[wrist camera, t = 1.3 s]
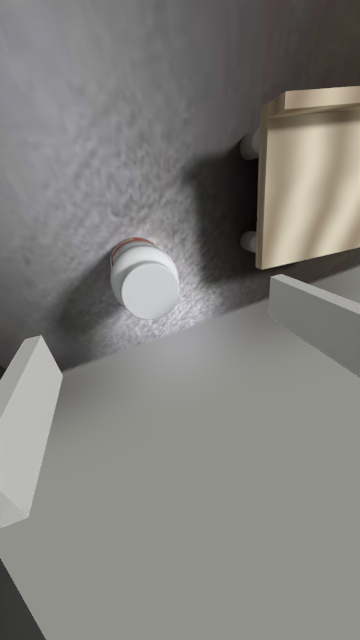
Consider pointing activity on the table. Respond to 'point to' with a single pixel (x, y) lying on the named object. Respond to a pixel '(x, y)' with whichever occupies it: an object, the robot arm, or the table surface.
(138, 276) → the pill bottle
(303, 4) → the table surface
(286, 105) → the beige small table
